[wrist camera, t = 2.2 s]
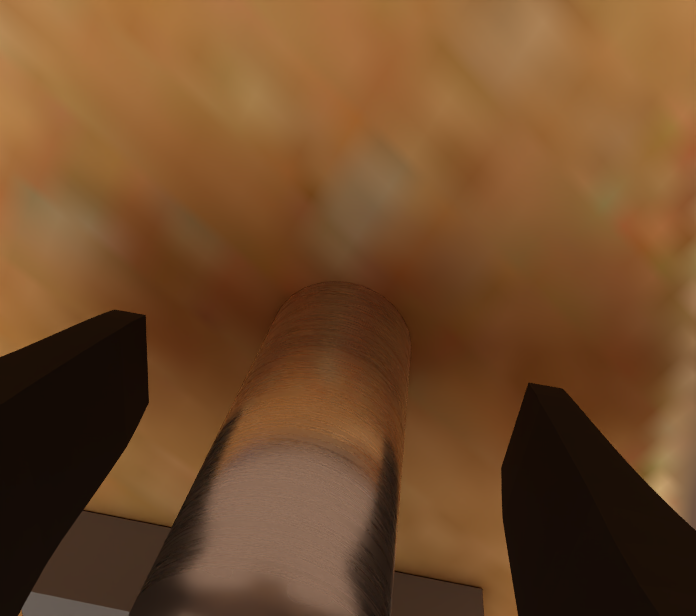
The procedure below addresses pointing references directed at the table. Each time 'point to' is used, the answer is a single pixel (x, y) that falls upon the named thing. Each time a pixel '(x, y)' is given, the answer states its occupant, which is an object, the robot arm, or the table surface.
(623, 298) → the table surface
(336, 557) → the steel pin
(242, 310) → the table surface
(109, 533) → the socket block
